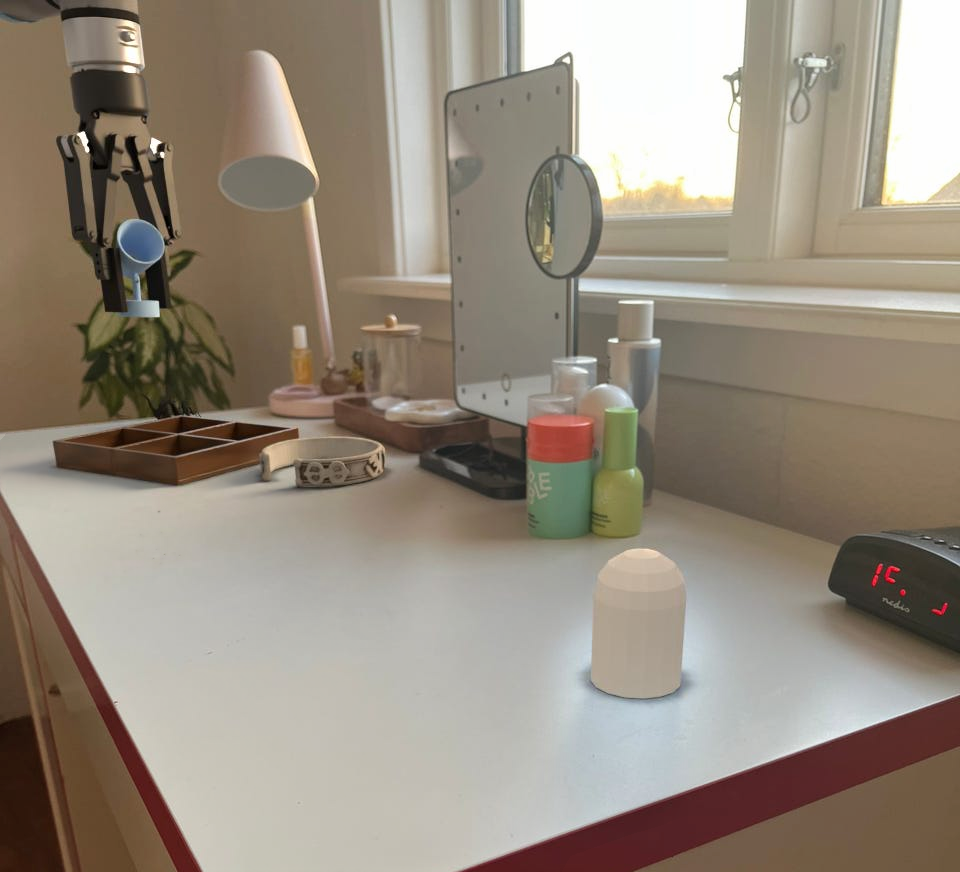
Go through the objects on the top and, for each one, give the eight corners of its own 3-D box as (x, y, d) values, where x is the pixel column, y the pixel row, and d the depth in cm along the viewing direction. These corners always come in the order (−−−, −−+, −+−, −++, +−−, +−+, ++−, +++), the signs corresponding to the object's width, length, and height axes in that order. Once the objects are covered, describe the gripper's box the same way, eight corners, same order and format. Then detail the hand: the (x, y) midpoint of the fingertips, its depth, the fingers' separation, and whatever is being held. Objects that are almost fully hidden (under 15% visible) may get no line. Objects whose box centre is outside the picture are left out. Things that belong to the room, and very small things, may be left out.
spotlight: (172, 318, 112) (152, 315, 118) (165, 219, 109) (145, 221, 114) (126, 317, 110) (108, 315, 115) (118, 217, 106) (99, 219, 112)
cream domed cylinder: (625, 655, 64) (631, 532, 61) (698, 678, 61) (708, 549, 58) (572, 680, 61) (575, 551, 58) (646, 706, 57) (653, 570, 54)
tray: (56, 466, 119) (52, 440, 117) (183, 438, 134) (180, 415, 133) (178, 485, 109) (175, 457, 108) (300, 452, 125) (298, 427, 124)
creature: (180, 428, 148) (134, 423, 141) (182, 390, 147) (136, 383, 140) (218, 433, 143) (172, 429, 137) (220, 394, 142) (174, 387, 136)
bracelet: (395, 483, 109) (394, 455, 108) (264, 491, 106) (262, 463, 105) (375, 457, 121) (374, 432, 120) (258, 464, 118) (255, 438, 117)
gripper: (55, 57, 96) (93, 317, 104) (200, 79, 110) (223, 305, 119) (4, 64, 99) (45, 315, 108) (151, 85, 114) (177, 304, 123)
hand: (138, 309), depth 113 cm, fingers closed on spotlight, 6 cm apart
